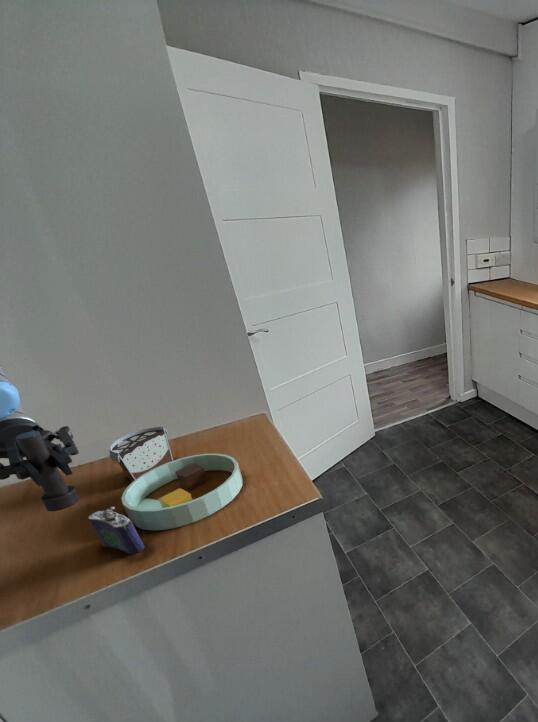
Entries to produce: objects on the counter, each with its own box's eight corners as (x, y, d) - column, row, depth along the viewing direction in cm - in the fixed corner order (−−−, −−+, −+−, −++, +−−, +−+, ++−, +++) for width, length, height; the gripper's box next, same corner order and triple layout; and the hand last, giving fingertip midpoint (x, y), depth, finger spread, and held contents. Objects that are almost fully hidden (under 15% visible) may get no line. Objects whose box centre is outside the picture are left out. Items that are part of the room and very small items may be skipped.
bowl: (112, 511, 88) (102, 490, 86) (213, 463, 105) (206, 445, 102) (161, 546, 79) (151, 524, 77) (262, 488, 96) (257, 468, 94)
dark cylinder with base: (43, 506, 76) (4, 437, 70) (74, 493, 80) (40, 426, 73) (52, 514, 74) (12, 444, 68) (84, 500, 78) (49, 432, 72)
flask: (103, 553, 78) (79, 509, 73) (121, 541, 80) (98, 499, 76) (138, 565, 75) (115, 521, 71) (155, 553, 78) (134, 510, 73)
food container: (158, 456, 106) (143, 423, 102) (179, 459, 106) (165, 425, 101) (109, 487, 95) (91, 452, 91) (132, 490, 94) (115, 454, 90)
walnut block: (180, 485, 95) (174, 471, 93) (199, 476, 98) (194, 462, 97) (189, 491, 93) (184, 476, 92) (208, 481, 97) (203, 467, 95)
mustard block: (164, 513, 87) (158, 498, 85) (185, 502, 90) (180, 487, 88) (174, 520, 85) (168, 504, 83) (195, 508, 88) (190, 493, 86)
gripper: (75, 434, 89) (119, 468, 78) (-40, 471, 77) (-6, 517, 66) (60, 403, 86) (104, 434, 75) (-62, 436, 74) (-30, 479, 63)
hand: (52, 473), depth 71 cm, fingers closed on dark cylinder with base, 3 cm apart
